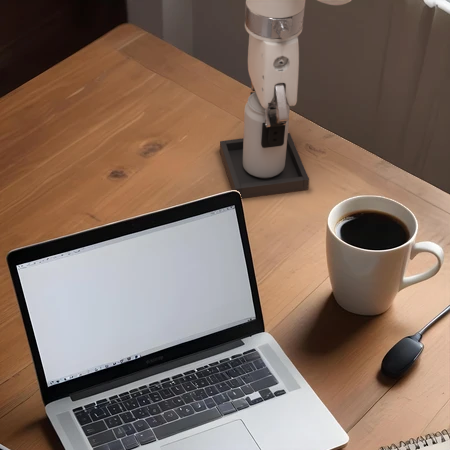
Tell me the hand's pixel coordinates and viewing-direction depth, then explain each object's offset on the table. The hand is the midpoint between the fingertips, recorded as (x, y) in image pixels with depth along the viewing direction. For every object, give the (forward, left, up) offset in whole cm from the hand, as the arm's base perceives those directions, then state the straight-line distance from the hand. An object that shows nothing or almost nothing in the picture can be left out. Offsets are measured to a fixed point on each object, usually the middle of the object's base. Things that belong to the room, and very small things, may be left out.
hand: (266, 129), depth 121 cm
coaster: (0, 0, -8) cm, 8 cm away
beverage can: (0, 0, -7) cm, 7 cm away
